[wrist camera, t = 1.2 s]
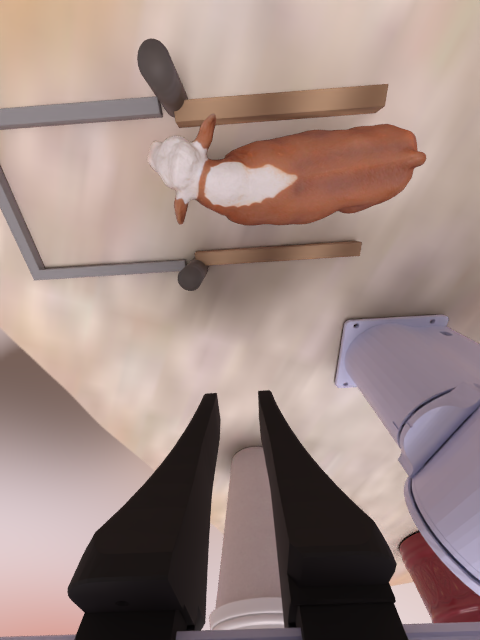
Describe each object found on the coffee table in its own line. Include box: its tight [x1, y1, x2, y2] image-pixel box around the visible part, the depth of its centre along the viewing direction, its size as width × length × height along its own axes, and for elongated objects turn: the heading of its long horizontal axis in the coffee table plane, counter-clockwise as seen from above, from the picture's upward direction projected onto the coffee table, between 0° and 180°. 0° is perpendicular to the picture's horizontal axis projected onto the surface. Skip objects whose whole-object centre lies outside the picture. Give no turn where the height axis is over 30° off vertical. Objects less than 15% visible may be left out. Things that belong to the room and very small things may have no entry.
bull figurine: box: [147, 114, 426, 225], centre depth 13 cm, size 4×13×8 cm, turn 91°
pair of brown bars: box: [137, 39, 388, 291], centre depth 15 cm, size 14×12×4 cm
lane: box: [0, 97, 187, 280], centre depth 16 cm, size 13×11×1 cm
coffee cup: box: [209, 447, 284, 630], centre depth 23 cm, size 10×10×15 cm
